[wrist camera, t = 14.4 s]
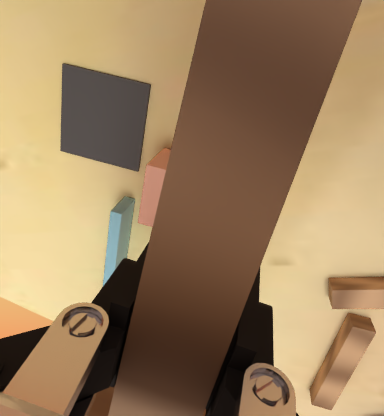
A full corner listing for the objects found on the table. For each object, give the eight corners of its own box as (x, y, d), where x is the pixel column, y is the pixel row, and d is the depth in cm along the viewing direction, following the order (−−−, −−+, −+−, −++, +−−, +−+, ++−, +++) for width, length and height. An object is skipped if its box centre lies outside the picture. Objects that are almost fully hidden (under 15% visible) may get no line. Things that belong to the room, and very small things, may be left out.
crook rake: (221, -132, 13) (127, -752, 4) (419, -88, 13) (964, -698, 3) (110, 365, 23) (4, 564, 13) (219, 405, 22) (192, 643, 13)
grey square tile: (64, 63, 33) (62, 63, 32) (150, 84, 32) (149, 84, 32) (61, 150, 37) (60, 150, 36) (138, 170, 36) (138, 171, 36)
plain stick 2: (347, 310, 39) (352, 326, 36) (369, 316, 38) (376, 332, 36) (309, 387, 45) (311, 404, 43) (327, 392, 45) (331, 410, 42)
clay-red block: (164, 147, 34) (146, 164, 29) (220, 162, 34) (212, 182, 28) (155, 198, 37) (137, 222, 32) (207, 212, 37) (197, 239, 31)
